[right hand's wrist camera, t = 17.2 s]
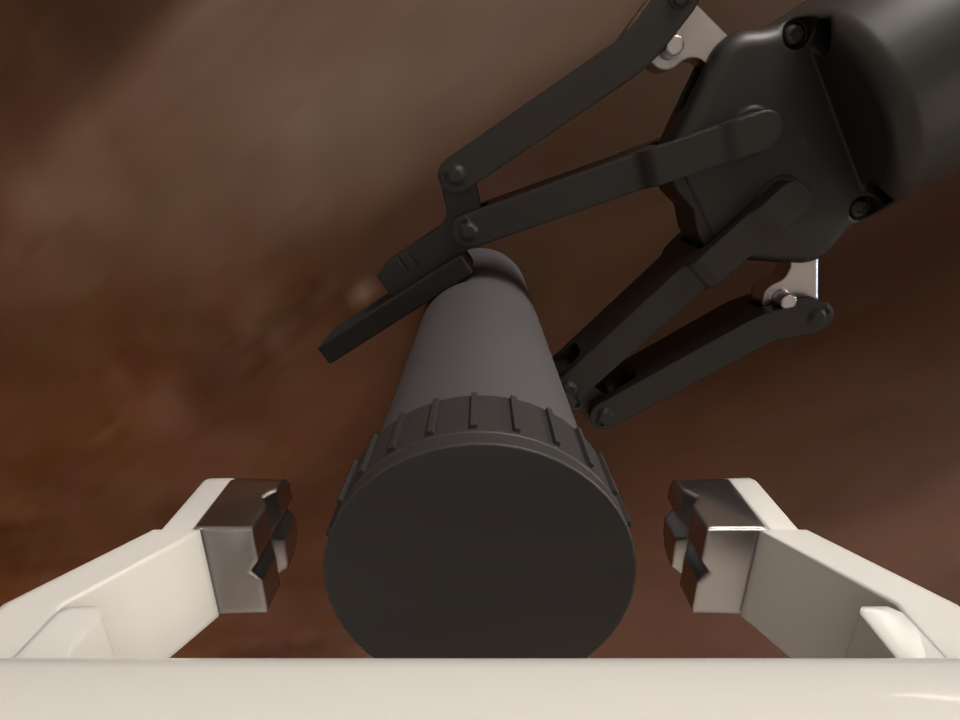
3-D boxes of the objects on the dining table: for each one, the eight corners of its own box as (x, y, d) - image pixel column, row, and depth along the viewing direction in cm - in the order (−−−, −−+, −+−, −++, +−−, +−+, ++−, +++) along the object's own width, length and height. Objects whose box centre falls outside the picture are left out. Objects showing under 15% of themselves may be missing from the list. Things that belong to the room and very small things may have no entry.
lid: (293, 456, 10) (255, 514, 8) (555, 345, 9) (571, 385, 7) (420, 646, 12) (410, 726, 10) (651, 566, 11) (681, 639, 9)
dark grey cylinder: (464, 229, 26) (429, 386, 8) (543, 279, 27) (669, 519, 9) (417, 308, 27) (299, 590, 10) (494, 353, 28) (519, 688, 10)
